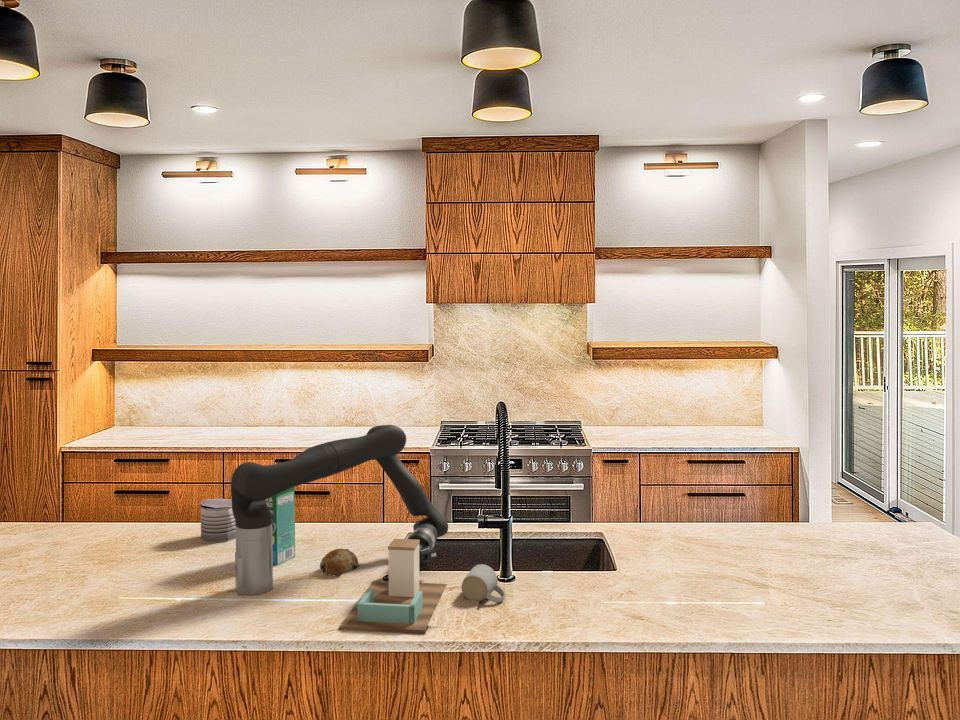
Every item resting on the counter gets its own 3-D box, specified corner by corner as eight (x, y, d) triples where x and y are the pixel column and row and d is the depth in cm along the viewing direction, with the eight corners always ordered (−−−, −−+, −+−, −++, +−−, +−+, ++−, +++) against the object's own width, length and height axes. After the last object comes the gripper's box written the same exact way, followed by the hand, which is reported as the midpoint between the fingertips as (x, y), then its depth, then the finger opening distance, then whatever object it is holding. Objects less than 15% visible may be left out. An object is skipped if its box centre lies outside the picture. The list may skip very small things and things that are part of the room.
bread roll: (343, 590, 211) (355, 565, 209) (311, 572, 212) (323, 547, 211) (356, 578, 220) (367, 554, 219) (325, 561, 222) (336, 537, 221)
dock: (369, 604, 188) (369, 588, 188) (422, 607, 187) (422, 591, 187) (357, 620, 178) (357, 604, 178) (413, 623, 177) (413, 606, 176)
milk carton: (251, 562, 223) (249, 477, 221) (270, 553, 231) (269, 471, 230) (276, 566, 219) (275, 480, 218) (295, 556, 228) (294, 473, 226)
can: (211, 532, 253) (210, 496, 252) (244, 533, 252) (243, 497, 251) (193, 542, 242) (193, 505, 241) (227, 544, 240) (227, 506, 240)
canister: (394, 586, 201) (394, 538, 200) (419, 587, 200) (419, 539, 199) (388, 596, 194) (387, 546, 193) (414, 597, 193) (414, 547, 192)
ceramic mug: (459, 602, 192) (460, 572, 192) (469, 590, 200) (470, 562, 200) (499, 607, 189) (500, 577, 189) (508, 596, 197) (509, 567, 196)
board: (373, 583, 205) (373, 580, 205) (446, 587, 203) (446, 584, 203) (339, 629, 176) (339, 625, 175) (425, 633, 173) (425, 630, 173)
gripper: (397, 530, 218) (382, 548, 201) (443, 531, 217) (431, 550, 200) (397, 555, 219) (382, 576, 202) (443, 557, 217) (431, 578, 200)
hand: (407, 563), depth 201 cm, fingers closed
